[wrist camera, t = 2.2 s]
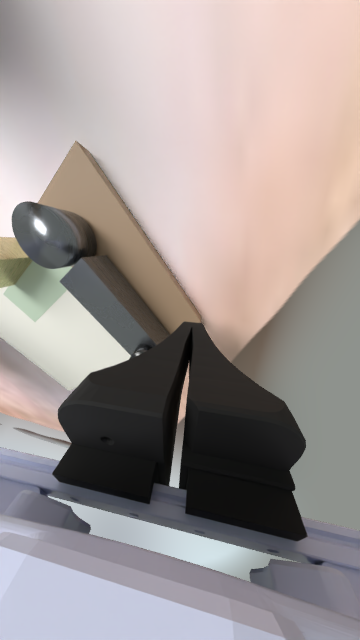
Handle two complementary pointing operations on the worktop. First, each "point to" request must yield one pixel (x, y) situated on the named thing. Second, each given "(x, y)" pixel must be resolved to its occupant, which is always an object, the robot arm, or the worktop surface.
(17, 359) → the worktop surface
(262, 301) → the worktop surface
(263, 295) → the worktop surface
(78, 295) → the latch bar
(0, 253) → the block
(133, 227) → the door board
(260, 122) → the worktop surface
